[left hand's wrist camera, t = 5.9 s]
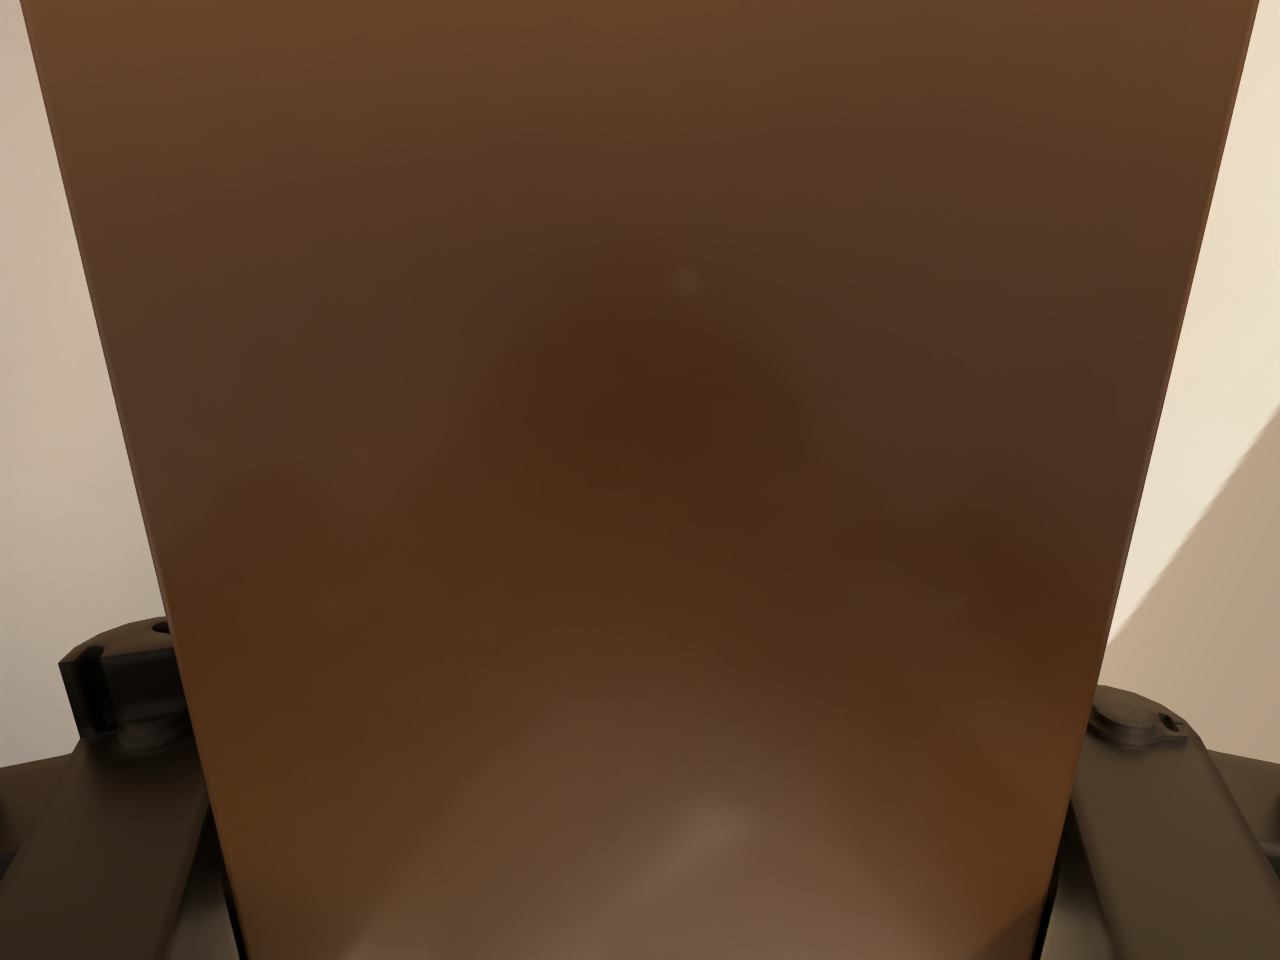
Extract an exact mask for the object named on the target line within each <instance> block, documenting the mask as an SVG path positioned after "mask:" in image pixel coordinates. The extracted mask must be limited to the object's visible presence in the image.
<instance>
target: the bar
mask: <svg viewBox="0 0 1280 960" xmlns="http://www.w3.org/2000/svg"><path fill="white" fill-rule="evenodd" d="M20 3H21V7H22V12H23V16H24V20H25V24H26V28H27V33H28V37H29V41H30V45H31V50H32V54H33V58H34V62H35V66H36V71H37V75H38V79H39V83H40V87H41V92H42V96H43V100H44V104H45V108H46V113H47V117H48V121H49V125H50V130H51V134H52V138H53V142H54V146H55V151H56V155H57V159H58V163H59V167H60V172H61V176H62V180H63V184H64V188H65V193H66V197H67V201H68V205H69V209H70V214H71V218H72V222H73V226H74V231H75V235H76V239H77V243H78V247H79V252H80V256H81V260H82V264H83V268H84V273H85V277H86V281H87V285H88V289H89V294H90V298H91V302H92V306H93V311H94V315H95V319H96V323H97V327H98V332H99V336H100V340H101V344H102V348H103V353H104V357H105V361H106V365H107V369H108V374H109V378H110V382H111V386H112V391H113V395H114V399H115V403H116V407H117V412H118V416H119V420H120V424H121V428H122V433H123V437H124V441H125V445H126V449H127V454H128V458H129V462H130V466H131V470H132V475H133V479H134V483H135V487H136V492H137V496H138V500H139V504H140V508H141V513H142V517H143V521H144V525H145V529H146V534H147V538H148V542H149V546H150V550H151V555H152V559H153V563H154V567H155V572H156V576H157V580H158V584H159V588H160V593H161V597H162V601H163V605H164V609H165V614H166V618H167V622H168V626H169V630H170V635H171V639H172V643H173V647H174V652H175V656H176V660H177V664H178V668H179V673H180V677H181V681H182V685H183V689H184V694H185V698H186V702H187V706H188V710H189V715H190V719H191V723H192V727H193V731H194V736H195V740H196V744H197V748H198V753H199V757H200V761H201V765H202V769H203V774H204V778H205V782H206V786H207V790H208V795H209V799H210V803H211V807H212V811H213V816H214V820H215V824H216V828H217V833H218V837H219V841H220V845H221V849H222V854H223V858H224V862H225V866H226V870H227V875H228V879H229V883H230V887H231V891H232V896H233V900H234V904H235V908H236V913H237V917H238V921H239V925H240V929H241V934H242V938H243V942H244V946H245V950H246V955H247V959H248V960H1032V956H1033V952H1034V948H1035V943H1036V939H1037V935H1038V931H1039V927H1040V922H1041V918H1042V914H1043V910H1044V905H1045V901H1046V897H1047V893H1048V889H1049V884H1050V880H1051V876H1052V872H1053V868H1054V863H1055V859H1056V855H1057V851H1058V847H1059V842H1060V838H1061V834H1062V830H1063V825H1064V821H1065V817H1066V813H1067V809H1068V804H1069V800H1070V796H1071V792H1072V788H1073V783H1074V779H1075V775H1076V771H1077V766H1078V762H1079V758H1080V754H1081V750H1082V745H1083V741H1084V737H1085V733H1086V729H1087V724H1088V720H1089V716H1090V712H1091V708H1092V703H1093V699H1094V695H1095V691H1096V686H1097V682H1098V678H1099V674H1100V670H1101V665H1102V661H1103V657H1104V653H1105V649H1106V644H1107V640H1108V636H1109V632H1110V628H1111V623H1112V619H1113V615H1114V611H1115V606H1116V602H1117V598H1118V594H1119V590H1120V585H1121V581H1122V577H1123V573H1124V569H1125V564H1126V560H1127V556H1128V552H1129V548H1130V543H1131V539H1132V535H1133V531H1134V526H1135V522H1136V518H1137V514H1138V510H1139V505H1140V501H1141V497H1142V493H1143V489H1144V484H1145V480H1146V476H1147V472H1148V467H1149V463H1150V459H1151V455H1152V451H1153V446H1154V442H1155V438H1156V434H1157V430H1158V425H1159V421H1160V417H1161V413H1162V409H1163V404H1164V400H1165V396H1166V392H1167V387H1168V383H1169V379H1170V375H1171V371H1172V366H1173V362H1174V358H1175V354H1176V350H1177V345H1178V341H1179V337H1180V333H1181V329H1182V324H1183V320H1184V316H1185V312H1186V307H1187V303H1188V299H1189V295H1190V291H1191V286H1192V282H1193V278H1194V274H1195V270H1196V265H1197V261H1198V257H1199V253H1200V248H1201V244H1202V240H1203V236H1204V232H1205V227H1206V223H1207V219H1208V215H1209V211H1210V206H1211V202H1212V198H1213V194H1214V190H1215V185H1216V181H1217V177H1218V173H1219V168H1220V164H1221V160H1222V156H1223V152H1224V147H1225V143H1226V139H1227V135H1228V131H1229V126H1230V122H1231V118H1232V114H1233V110H1234V105H1235V101H1236V97H1237V93H1238V88H1239V84H1240V80H1241V76H1242V72H1243V67H1244V63H1245V59H1246V55H1247V51H1248V46H1249V42H1250V38H1251V34H1252V30H1253V25H1254V21H1255V17H1256V13H1257V8H1258V4H1259V0H20Z"/></svg>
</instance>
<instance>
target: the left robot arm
mask: <svg viewBox="0 0 1280 960" xmlns="http://www.w3.org/2000/svg"><path fill="white" fill-rule="evenodd" d="M58 665H59V668H60V672H61V675H62V678H63V682H64V685H65V688H66V692H67V695H68V699H69V702H70V705H71V709H72V712H73V715H74V719H75V722H76V725H77V729H78V732H79V735H80V740H79V742H78V743H77V745H76V747H75V749H74V751H73V752H72V753H71V754H67V755H63V756H58V757H53V758H47V759H42V760H37V761H32V762H27V763H22V764H17V765H12V766H7V767H2V768H0V960H248V959H247V955H246V950H245V946H244V942H243V938H242V934H241V929H240V925H239V921H238V917H237V913H236V908H235V904H234V900H233V896H232V891H231V887H230V883H229V879H228V875H227V870H226V866H225V862H224V858H223V854H222V849H221V845H220V841H219V837H218V833H217V828H216V824H215V820H214V816H213V811H212V807H211V803H210V799H209V795H208V790H207V786H206V782H205V778H204V774H203V769H202V765H201V761H200V757H199V753H198V748H197V744H196V740H195V736H194V731H193V727H192V723H191V719H190V715H189V710H188V706H187V702H186V698H185V694H184V689H183V685H182V681H181V677H180V673H179V668H178V664H177V660H176V656H175V652H174V647H173V643H172V639H171V635H170V630H169V626H168V622H167V618H166V617H156V618H151V619H146V620H142V621H137V622H132V623H128V624H125V625H122V626H120V627H117V628H114V629H111V630H109V631H106V632H103V633H100V634H98V635H96V636H94V637H93V638H91V639H89V640H87V641H86V642H84V643H82V644H80V645H78V646H77V647H75V648H74V649H72V650H71V651H70V652H69V653H68V654H67V655H66V656H65V657H64V658H63V659H62V660H61V661H60V662H59V663H58ZM1032 960H1280V764H1277V763H1272V762H1267V761H1262V760H1257V759H1251V758H1246V757H1241V756H1236V755H1231V754H1226V753H1221V752H1216V751H1212V750H1208V749H1206V747H1205V746H1204V744H1203V742H1202V740H1201V738H1200V737H1199V736H1198V735H1197V733H1196V732H1195V731H1194V730H1193V729H1192V728H1191V726H1190V725H1189V724H1188V723H1187V722H1186V721H1185V720H1184V719H1183V718H1181V717H1180V716H1178V715H1177V714H1175V713H1174V712H1172V711H1171V710H1169V709H1168V708H1166V707H1165V706H1163V705H1161V704H1159V703H1157V702H1154V701H1152V700H1150V699H1147V698H1145V697H1143V696H1140V695H1138V694H1136V693H1133V692H1129V691H1125V690H1121V689H1117V688H1113V687H1109V686H1105V685H1098V684H1097V686H1096V691H1095V695H1094V699H1093V703H1092V708H1091V712H1090V716H1089V720H1088V724H1087V729H1086V733H1085V737H1084V741H1083V745H1082V750H1081V754H1080V758H1079V762H1078V766H1077V771H1076V775H1075V779H1074V783H1073V788H1072V792H1071V796H1070V800H1069V804H1068V809H1067V813H1066V817H1065V821H1064V825H1063V830H1062V834H1061V838H1060V842H1059V847H1058V851H1057V855H1056V859H1055V863H1054V868H1053V872H1052V876H1051V880H1050V884H1049V889H1048V893H1047V897H1046V901H1045V905H1044V910H1043V914H1042V918H1041V922H1040V927H1039V931H1038V935H1037V939H1036V943H1035V948H1034V952H1033V956H1032Z"/></svg>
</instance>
